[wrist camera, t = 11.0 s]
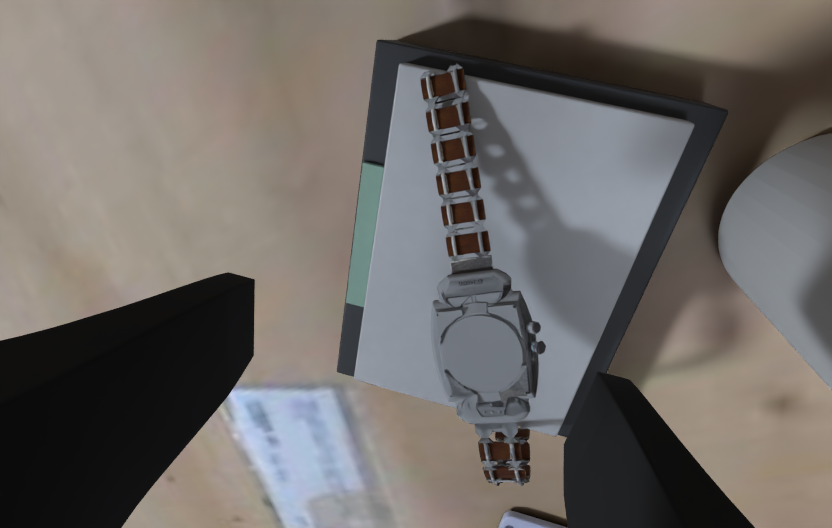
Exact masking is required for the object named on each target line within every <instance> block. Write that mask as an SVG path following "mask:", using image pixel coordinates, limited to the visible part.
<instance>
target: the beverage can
mask: <svg viewBox="0 0 832 528" xmlns="http://www.w3.org/2000/svg"><path fill="white" fill-rule="evenodd" d="M718 247H719V253H720V257H721V260H722V263H723V265H724V267H725V269H726V271H727V272H728V274H729V275H730V277H731V278H732V279H733V280H734V282H735V283H736V284H737V285H738V286H739V287H740V288H741V289H742V291H743V292H744V293H745V294H746V295H747V296H748V297H749V298H750V299H751V301H752V302H753V303H754V304H755V305H756V306H757V307H758V308H759V310H760V311H761V312H762V313H763V314H764V315H765V316H766V317H767V318H768V320H769V321H770V322H771V323H772V324H773V325H774V326H775V327H776V329H777V330H778V331H779V332H780V333H781V334H782V335H783V336H784V337H785V339H786V340H787V341H788V342H789V343H790V344H791V345H792V346H793V347H794V349H795V350H796V351H797V352H798V353H799V354H800V355H801V356H802V358H803V359H804V360H805V361H806V362H807V363H808V364H809V365H810V366H811V368H812V369H813V370H814V371H815V372H816V373H817V374H818V375H819V377H820V378H821V379H822V380H823V381H824V382H825V383H826V384H827V385H828V387H829V388H830V389H831V390H832V133H829V134H825V135H821V136H817V137H814V138H810V139H808V140H805V141H802V142H799V143H797V144H795V145H793V146H790V147H788V148H786V149H785V150H783V151H781V152H779V153H777V154H776V155H774V156H772V157H771V158H770V159H768V160H767V161H765V162H764V163H763V164H761V165H760V166H759V167H758V168H756V169H755V170H754V171H753V172H752V173H751V174H750V175H749V176H748V177H747V178H746V179H745V180H744V181H743V182H742V183H741V185H740V186H739V187H738V188H737V190H736V191H735V193H734V194H733V195H732V197H731V199H730V200H729V202H728V204H727V206H726V208H725V210H724V213H723V215H722V218H721V222H720V227H719V232H718Z"/></svg>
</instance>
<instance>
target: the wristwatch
mask: <svg viewBox="0 0 832 528" xmlns="http://www.w3.org/2000/svg"><path fill="white" fill-rule="evenodd" d="M420 79H421V80H420V81H421V89H422V95H423V99H424V101H426V102H427V103H428V108H427V109H426V111H425V112H426V120H427V126H428V131H429V133H430V134H432V135H433V140H432V142H431V151H432V157H433V162H434V165H436V166H437V167H438V172H437V173H436V182H437V189H438V193H439V196H440V197H442V198H443V203H442V205H441V213H442V220H443V225H444V227H445V228H447V229H448V234H447V235H446V245H447V251H448V256H449V258H451V259H452V260H450V268H451V275H448V276H446V277H445V278H444V279H443V280H441V281H440V282H439V284H438V286H437V290H438V294H439V300H434V301H433V302H432V310H431V341H432V349H433V356H434V361H435V365H436V369H437V373H438V376H439V380H440V383H441V385H442V388H443V391H444V393H445V395H446V398H447V400H448V402H455V403H456V405H457V415H458V416H459V417H460V418H461V419H462V420H464V421H466V422H468V423H470V424H475V428H476V433H477V434H478V435H479V436H480V437H481V439H480V441H479V442H478V444H479V452H480V457H481V462H482V463H483V464H485V467H483V470H484V474H485V477H486V478H487V480H488V482H489V483H494V484H495V485H496V486H499V484H500V483H503V482H513V483H519V485H520V486H523V484H524V483H528V482H529V479H530V466H529V465H527V463H528V462H529V461H530V446H529V443H528V442H527V440H528V439H529V436H530V429H528V428H526V426H521V428H519V429H518V427H517V422H520V421H521V420H523V419H524V418H526V417H527V416H528V414H529V412H530V405H529V398H535V397H536V392H537V385H538V374H539V362H538V354H539V355H540V354H542V353H544V352H545V348H546V345H545V343H544V342H543V341H539V342H537V341H536V335H535V334H537V333H539V332H540V330H541V325H540V323H539V322H536V321H532V318H531V315H530V313H529V310H528V307H527V304H526V302H525V300H524V298H523V296H522V294H521V291H513V290H512V289H511V277H510V276H509V275H508V274H507V273H505V272H503V271H501V270H499V269H494V268H493V261H492V255H488V254H489V252H490V251H491V248H490V240H489V234H488V230H486V229H485V228H484V227H483V223H484V221H485V220H486V214H485V207H484V201H483V199H482V198H481V197H480V196H479V195H478V192H479V190H480V189H481V181H480V174H479V168H478V167H477V166H476V165H475V164H474V162H473V160H474V159H475V157H476V148H475V141H474V135H473V134H472V133H470V132H469V130H468V128H469V126H470V125H471V123H472V122H471V114H470V108H469V103H468V101H467V100H465V99H464V97H463V95H464V93H465V92H466V90H467V89H466V81H465V75H464V69H463V68H462V67H461V66H459V65H458V64H457V63H456V65H454V66H451V65H450V67H449V69H448V70H447V73H444V74H440V75H435V74H434V73H432V72H431V71H430V70H429V72H427V73H425V72H424V73H423V75H422V76H421V78H420ZM449 94H451V95H452V96H454V97H455V98H452V99H447V100H443V101H439V102H437V100H438V98H439V97H440V96H444V95H449ZM452 100H455V101H454V102H453V104H452V106H449V107H444V108H440V107H439V106H438V105H436V104H439V103H444V102H448V101H452ZM452 127H456V128H458V129H459V131H455V132H450V133H446V134H442V132H443V131H444V129H447V128H452ZM459 132H460V133H459ZM455 133H459V135H458V136H457V138H456V139H451V140H445V139H444V138H442V137H441V136H446V135H450V134H455ZM457 159H461V160H462V161H464V162H465V163H461V164H456V165H451V166H447V164H448V163H449V161H452V160H457ZM461 165H465V166H464V167H463V169H462V170H460V171H455V172H450V171H449V170H448V169H446V168H450V167H456V166H461ZM460 191H466V192H467V193H469V194H470V195H465V196H459V197H453V198H451V197H452V196H453V194H454V193H455V192H460ZM464 197H469V199H468V200H467V202H463V203H457V204H456V203H455V202H454V201H452V200H453V199H459V198H464ZM466 222H470V223H472V224H473V225H474V226H471V227H465V228H458V229H456V228H457V226H458V225H459V224H460V223H466ZM471 228H475V229H474V230H473V232H472V233H468V234H460V233H458V232H457V231H458V230H464V229H471ZM470 253H475V254H476V255H478V256H479V257H472V258H465V259H461V258H462V257H463V255H464V254H470ZM492 432H496V434H495V439H496V440H497V442H493V441H492V440H491V439H490V438H489V436H490V434H491V433H492ZM495 462H497V463H498V464H497V465H493V464H494V463H495ZM506 462H508V463H506Z"/></svg>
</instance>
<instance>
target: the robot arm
mask: <svg viewBox="0 0 832 528" xmlns="http://www.w3.org/2000/svg"><path fill="white" fill-rule="evenodd" d="M254 288H255V279H251V278H247V277H243V276H240V275H236V274H232V273H224V274H220V275H216V276H213V277H209V278H206V279H203V280H200V281H197V282H194V283H191V284H188V285H185V286H182V287H179V288H176V289H173V290H170V291H167V292H164V293H162V294H159V295H156V296H153V297H150V298H147V299H144V300H141V301H138V302H135V303H132V304H129V305H126V306H123V307H120V308H116V309H113V310H110V311H107V312H103V313H100V314H97V315H93V316H90V317H87V318H84V319H80V320H77V321H74V322H70V323H67V324H64V325H60V326H57V327H53V328H50V329H46V330H42V331H38V332H34V333H31V334H27V335H23V336H19V337H15V338H10V339H6V340H2V341H0V528H121V527H122V526H123V525H124V523H125V522H126V520H127V519H128V517H129V516H130V515H131V513H132V512H133V510H134V509H135V508H136V506H137V505H138V504H139V502H140V501H141V500H142V499H143V497H144V496H145V495H146V493H147V492H148V491H149V490H150V488H151V487H152V486H153V485H154V483H155V482H156V481H157V480H158V479H159V477H160V476H161V475H162V474H163V473H164V471H165V470H166V469H167V468H168V467H169V466H170V464H171V463H172V462H173V461H174V460H175V458H176V457H177V456H178V455H179V454H180V453H181V451H182V450H183V449H184V448H185V447H186V445H187V444H188V443H189V442H190V441H191V440H192V438H193V437H194V436H195V435H196V434H197V432H198V431H199V430H200V429H201V428H202V427H203V425H204V424H205V423H206V422H207V421H208V419H209V418H210V417H211V416H212V415H213V413H214V412H215V411H216V410H217V409H218V407H219V406H220V405H221V404H222V402H223V401H224V400H225V399H226V398H227V396H228V395H229V394H230V392H231V391H232V389H233V388H234V386H235V385H236V383H237V381H238V380H239V378H240V377H241V375H242V374H243V372H244V370H245V369H246V367H247V366H248V364H249V362H250V361H251V359H252V357H253V356H254ZM564 500H565V509H566V517H567V525H568V527H564V526H561V525H558V524H554V523H551V522H548V521H545V520H541V519H538V518H535V517H531V516H528V515H525V514H521V513H518V512H515V511H507V512H505V513H504V515H503V517H502V519H501V522H500V524H499V527H498V528H755V527H754V526H753V525H752V524H751V523H750V522H749V521H748V519H747V518H746V517H745V516H744V515H743V514H742V513H741V512H740V511H739V509H738V508H737V507H736V506H735V505H734V504H733V503H732V502H731V501H730V500H729V498H728V497H727V496H726V495H725V494H724V493H723V491H722V490H721V489H720V488H719V487H718V486H717V485H716V483H715V482H714V481H713V480H712V479H711V478H710V476H709V475H708V474H707V473H706V472H705V470H704V469H703V468H702V467H701V466H700V464H699V463H698V462H697V461H696V460H695V458H694V457H693V456H692V455H691V454H690V452H689V451H688V450H687V449H686V447H685V446H684V445H683V444H682V443H681V441H680V440H679V439H678V438H677V436H676V435H675V434H674V433H673V431H672V430H671V429H670V428H669V426H668V425H667V424H666V423H665V422H664V420H663V419H662V418H661V417H660V415H659V414H658V413H657V412H656V410H655V409H654V408H653V407H652V405H651V404H650V403H649V402H648V400H647V399H646V398H645V397H644V396H643V394H642V393H641V392H640V391H639V390H638V388H637V387H636V386H635V385H634V384H633V383H632V382H631V381H630V380H629V379H625V378H621V377H617V376H614V375H610V374H606V373H602V372H599V371H598V372H597V374H596V377H595V379H594V381H593V383H592V385H591V387H590V389H589V392H588V394H587V396H586V398H585V400H584V402H583V405H582V407H581V409H580V411H579V413H578V415H577V417H576V420H575V422H574V424H573V426H572V428H571V430H570V432H569V435H568V437H567V439H566V441H565V443H564Z"/></svg>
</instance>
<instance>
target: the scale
mask: <svg viewBox="0 0 832 528" xmlns="http://www.w3.org/2000/svg"><path fill="white" fill-rule="evenodd" d="M456 63H457V64H458V65H459V66H461V67H462V68H463V69H464V75H465V81H466V89H467V90H466V92H465V93H464V95H463V97H464V99H465V100H467V101H468V103H469V108H470V114H471V122H472V123H471V125H470V126H469V128H468V130H469V132H470V133H472V134H473V135H474V141H475V148H476V157H475V159H474V160H473V162H474V164H475V165H476V166H477V167H478V168H479V174H480V181H481V189H480V190H479V192H478V195H479V196H480V197H481V198H482V199H483V201H484V207H485V214H486V220H485V221H484V223H483V227H484V228H485V229H486V230H488V234H489V240H490V248H491V251H490V252H489V254H488V255H492V261H493V268H494V269H499V270H501V271H503V272H505V273H507V274H508V275H509V276H510V277H511V289H512V290H513V291H521V294H522V296H523V298H524V300H525V302H526V304H527V307H528V310H529V313H530V315H531V318H532V321H536V322H539V323H540V325H541V330H540V332H539V333H537V334H535V335H536V341H537V342H539V341H543V342H544V343H545V345H546V348H545V352H544V353H542V354H540V355H539V354H538V362H539V374H538V385H537V392H536V397H535V398H529V405H530V412H529V414H528V416H527V417H526V418H524V419H523V420H521V421H520V422H517V426H520V427H521V426H526V428H528V429H531V430H534V431H538V432H541V433H545V434H548V435H552V436H557V435H561V436H565V437H568V435H569V432H570V430H571V428H572V426H573V424H574V422H575V420H576V417H577V415H578V413H579V411H580V409H581V407H582V405H583V402H584V400H585V398H586V396H587V394H588V392H589V389H590V387H591V385H592V383H593V381H594V379H595V377H596V374H597V372H598V371H599V372H602V373H606V372H607V370H608V367H609V365H610V363H611V361H612V359H613V357H614V355H615V353H616V350H617V348H618V346H619V344H620V342H621V340H622V338H623V336H624V334H625V331H626V329H627V327H628V325H629V323H630V321H631V319H632V317H633V314H634V312H635V310H636V308H637V306H638V304H639V302H640V300H641V297H642V295H643V293H644V291H645V289H646V287H647V285H648V283H649V280H650V278H651V276H652V274H653V272H654V270H655V268H656V266H657V263H658V261H659V259H660V257H661V255H662V253H663V251H664V249H665V246H666V244H667V242H668V240H669V238H670V236H671V234H672V232H673V229H674V227H675V225H676V223H677V221H678V219H679V217H680V215H681V213H682V210H683V208H684V206H685V204H686V202H687V200H688V198H689V196H690V193H691V191H692V189H693V187H694V185H695V183H696V181H697V179H698V176H699V174H700V172H701V170H702V168H703V166H704V164H705V162H706V159H707V157H708V155H709V153H710V151H711V149H712V147H713V145H714V142H715V140H716V138H717V136H718V134H719V132H720V130H721V128H722V125H723V123H724V121H725V119H726V117H727V115H728V112H729V111H728V110H727V109H724V108H720V107H717V106H714V105H711V104H707V103H704V102H700V101H695V100H690V99H685V98H680V97H675V96H670V95H665V94H660V93H655V92H650V91H645V90H640V89H635V88H630V87H625V86H620V85H615V84H610V83H605V82H600V81H595V80H590V79H585V78H580V77H575V76H570V75H565V74H560V73H555V72H550V71H545V70H540V69H535V68H530V67H525V66H520V65H515V64H510V63H505V62H500V61H495V60H490V59H485V58H480V57H475V56H470V55H465V54H460V53H455V52H450V51H445V50H440V49H436V48H431V47H426V46H421V45H416V44H411V43H406V42H401V41H396V40H377V43H376V51H375V60H374V68H373V76H372V84H371V93H370V101H369V109H368V118H367V126H366V134H365V142H364V151H363V159H362V167H361V176H360V184H359V192H358V200H357V209H356V217H355V225H354V234H353V242H352V250H351V258H350V267H349V275H348V283H347V292H346V300H345V308H344V316H343V325H342V333H341V341H340V350H339V358H338V366H337V372H339V373H342V374H346V375H349V376H353V377H354V379H355V380H358V381H362V382H365V383H369V384H372V385H376V386H379V387H383V388H386V389H390V390H393V391H397V392H400V393H404V394H407V395H411V396H414V397H418V398H421V399H425V400H429V401H432V402H436V403H439V404H443V405H446V406H450V407H453V408H457V405H456V403H455V402H448V400H447V398H446V395H445V393H444V391H443V388H442V385H441V383H440V380H439V376H438V373H437V369H436V365H435V361H434V356H433V349H432V341H431V310H432V302H433V301H434V300H439V294H438V290H437V286H438V284H439V282H440V281H441V280H443V279H444V278H445V277H446V276H448V275H451V268H450V260H452V259H451V258H449V256H448V251H447V245H446V235H447V234H448V229H447V228H445V227H444V225H443V220H442V213H441V205H442V203H443V198H442V197H440V196H439V193H438V189H437V182H436V173H437V172H438V167H437V166H436V165H434V162H433V157H432V151H431V142H432V140H433V135H432V134H430V133H429V131H428V126H427V120H426V112H425V111H426V109H427V108H428V103H427V102H426V101H424V99H423V95H422V89H421V81H420V80H421V79H420V78H421V76H422V75H423V73H424V72H425V73H427V72H429V70H430V71H431V72H432V73H434V74H435V75H440V74H444V73H447V70H448V69H449V67H450V65H451V66H454V65H456ZM452 98H455V97H454V96H452V95H451V94H449V95H444V96H440V97H439V98H438V100H437V102H439V101H443V100H447V99H452ZM454 101H455V100H452V101H448V102H444V103H439V104H436V105H438V106H439V107H440V108H444V107H449V106H452V104H453V102H454ZM455 131H459V129H458V128H456V127H452V128H447V129H444V131H443V132H442V134H446V133H450V132H455ZM459 133H460V132H459ZM459 133H455V134H450V135H446V136H441V137H442V138H444V139H445V140H451V139H456V138H457V136H458V135H459ZM461 163H465V162H464V161H462V160H461V159H457V160H452V161H449V163H448V164H447V166H451V165H456V164H461ZM464 166H465V165H461V166H456V167H450V168H446V169H448V170H449V171H450V172H455V171H460V170H462V169H463V167H464ZM465 195H470V194H469V193H467V192H466V191H460V192H455V193H454V194H453V196H452V197H451V198H453V197H459V196H465ZM468 199H469V197H464V198H459V199H453V200H452V201H454V202H455V203H456V204H457V203H463V202H467V200H468ZM471 226H474V225H473V224H472V223H470V222H466V223H460V224H459V225H458V226H457V228H456V229H458V228H465V227H471ZM474 229H475V228H471V229H464V230H458V231H457V232H458V233H460V234H468V233H472V232H473V230H474ZM472 257H479V256H478V255H476V254H475V253H470V254H464V255H463V257H462V258H461V259H465V258H472Z"/></svg>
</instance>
